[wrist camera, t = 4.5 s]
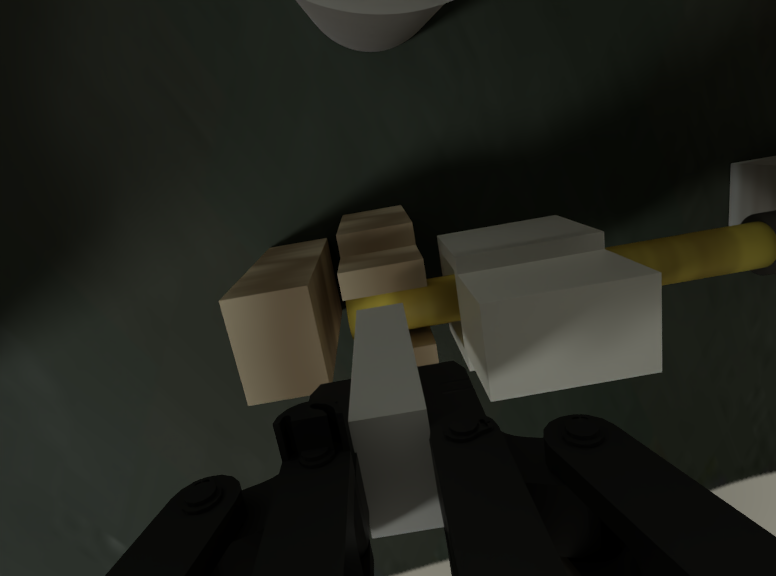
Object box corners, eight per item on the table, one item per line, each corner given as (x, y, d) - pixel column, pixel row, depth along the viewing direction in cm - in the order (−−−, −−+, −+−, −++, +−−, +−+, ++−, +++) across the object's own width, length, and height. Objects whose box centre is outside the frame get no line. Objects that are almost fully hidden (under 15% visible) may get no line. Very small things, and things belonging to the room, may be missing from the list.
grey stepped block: (449, 328, 21) (492, 420, 14) (436, 235, 20) (476, 283, 13) (561, 309, 21) (662, 390, 14) (555, 214, 20) (661, 251, 13)
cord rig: (291, 337, 26) (251, 438, 17) (264, 228, 24) (205, 276, 15) (800, 248, 26) (1034, 301, 17) (809, 133, 24) (1074, 124, 15)
